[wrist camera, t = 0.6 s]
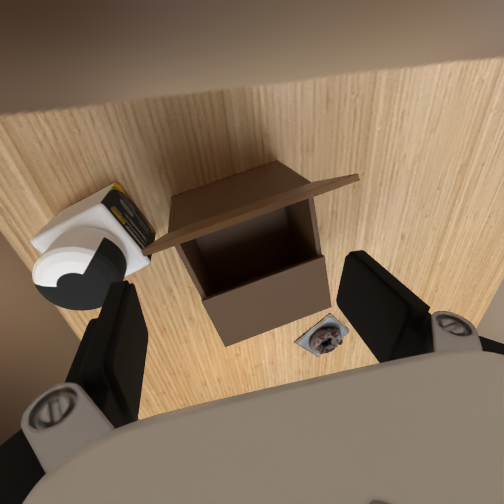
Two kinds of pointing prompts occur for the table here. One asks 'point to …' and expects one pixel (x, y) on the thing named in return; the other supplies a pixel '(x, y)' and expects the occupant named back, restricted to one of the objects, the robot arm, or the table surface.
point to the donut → (323, 336)
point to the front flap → (247, 212)
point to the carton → (253, 254)
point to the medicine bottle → (90, 249)
